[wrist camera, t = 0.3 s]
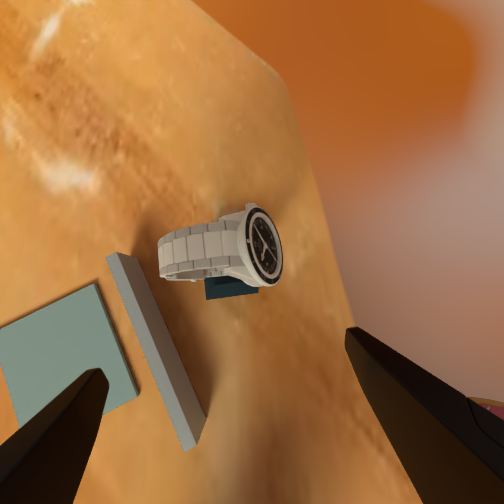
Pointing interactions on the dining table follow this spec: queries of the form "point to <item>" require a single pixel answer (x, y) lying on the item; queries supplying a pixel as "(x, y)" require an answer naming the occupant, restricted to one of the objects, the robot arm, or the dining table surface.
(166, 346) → the acrylic wall
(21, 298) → the dining table surface
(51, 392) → the mat
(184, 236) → the watch
